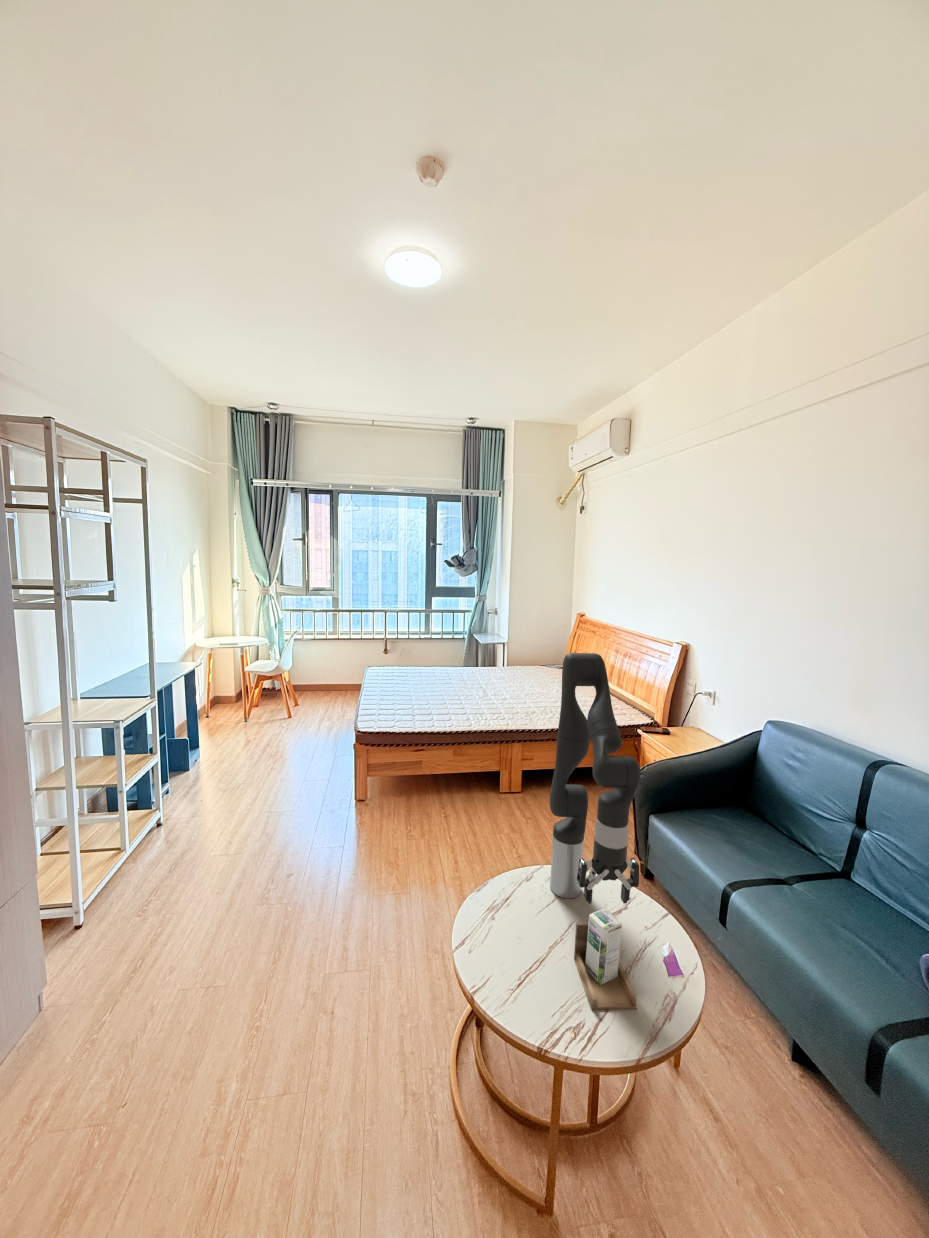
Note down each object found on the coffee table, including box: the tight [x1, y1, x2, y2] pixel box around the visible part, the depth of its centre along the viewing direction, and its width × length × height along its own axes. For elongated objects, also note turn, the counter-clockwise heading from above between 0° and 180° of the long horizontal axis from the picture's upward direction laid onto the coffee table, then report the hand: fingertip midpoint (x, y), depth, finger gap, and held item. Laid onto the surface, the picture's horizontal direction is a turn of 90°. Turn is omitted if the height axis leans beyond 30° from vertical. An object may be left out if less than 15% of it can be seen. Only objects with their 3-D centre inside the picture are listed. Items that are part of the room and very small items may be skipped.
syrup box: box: [585, 908, 623, 985], centre depth 118 cm, size 6×6×14 cm
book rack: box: [573, 921, 637, 1011], centre depth 116 cm, size 14×10×10 cm
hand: (606, 901), depth 116 cm, fingers open, 8 cm apart
